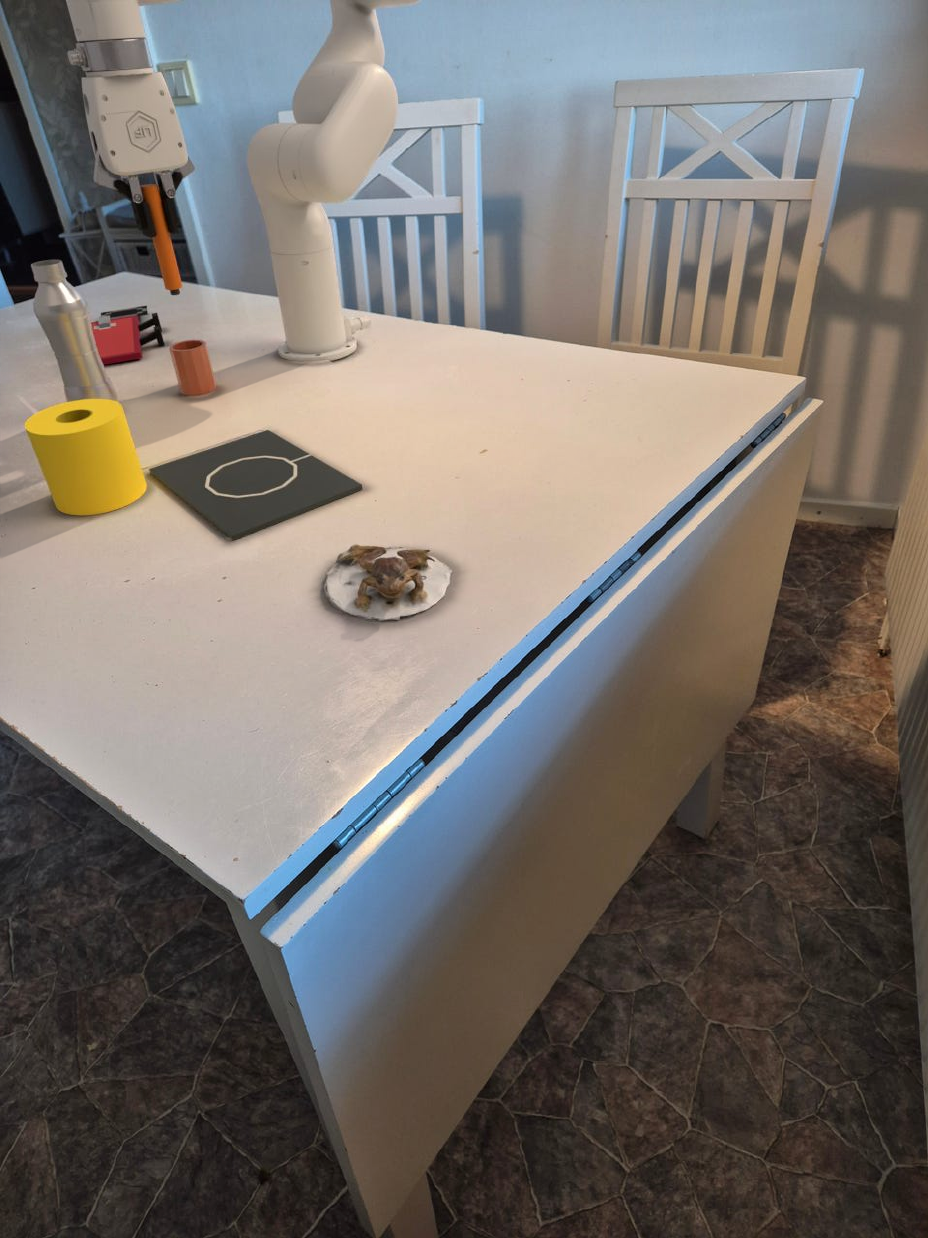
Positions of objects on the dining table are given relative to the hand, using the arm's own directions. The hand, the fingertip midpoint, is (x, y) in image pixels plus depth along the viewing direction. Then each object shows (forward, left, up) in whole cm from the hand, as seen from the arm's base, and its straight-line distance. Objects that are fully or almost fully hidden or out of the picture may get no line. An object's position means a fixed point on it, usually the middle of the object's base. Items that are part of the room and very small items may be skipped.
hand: (160, 232), depth 104 cm
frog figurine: (+8, +59, -22) cm, 64 cm away
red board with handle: (-2, -39, -22) cm, 45 cm away
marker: (0, 0, -8) cm, 8 cm away
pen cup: (-1, -2, -22) cm, 22 cm away
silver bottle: (+13, -5, -22) cm, 26 cm away
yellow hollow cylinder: (+22, +20, -22) cm, 37 cm away
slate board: (+7, +30, -22) cm, 38 cm away
